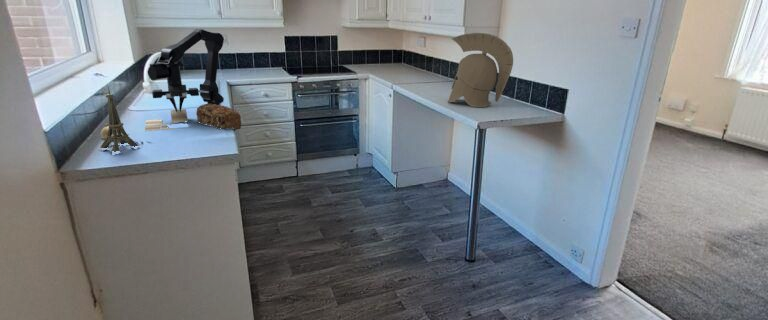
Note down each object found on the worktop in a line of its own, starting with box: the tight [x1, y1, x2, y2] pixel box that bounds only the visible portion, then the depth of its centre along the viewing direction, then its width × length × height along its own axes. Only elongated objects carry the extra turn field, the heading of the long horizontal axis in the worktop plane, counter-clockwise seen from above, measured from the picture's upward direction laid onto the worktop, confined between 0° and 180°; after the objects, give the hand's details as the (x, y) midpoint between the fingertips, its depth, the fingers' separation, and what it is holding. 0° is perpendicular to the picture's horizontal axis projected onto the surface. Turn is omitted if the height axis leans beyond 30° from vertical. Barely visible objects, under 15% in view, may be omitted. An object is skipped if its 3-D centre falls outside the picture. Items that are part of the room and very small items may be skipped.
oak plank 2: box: [170, 108, 189, 124], centre depth 197 cm, size 8×6×2 cm
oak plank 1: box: [144, 118, 163, 126], centre depth 193 cm, size 8×6×2 cm
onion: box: [100, 123, 122, 140], centre depth 171 cm, size 8×8×7 cm
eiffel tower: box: [99, 82, 139, 152], centre depth 159 cm, size 11×11×25 cm
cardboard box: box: [144, 123, 174, 132], centre depth 188 cm, size 9×17×2 cm, turn 116°
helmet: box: [447, 32, 514, 108], centre depth 246 cm, size 20×36×40 cm, turn 64°
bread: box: [195, 103, 242, 131], centre depth 192 cm, size 19×11×10 cm, turn 54°
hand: (178, 111), depth 197 cm, fingers closed on oak plank 2
